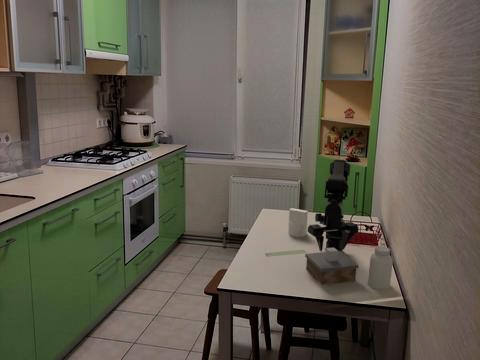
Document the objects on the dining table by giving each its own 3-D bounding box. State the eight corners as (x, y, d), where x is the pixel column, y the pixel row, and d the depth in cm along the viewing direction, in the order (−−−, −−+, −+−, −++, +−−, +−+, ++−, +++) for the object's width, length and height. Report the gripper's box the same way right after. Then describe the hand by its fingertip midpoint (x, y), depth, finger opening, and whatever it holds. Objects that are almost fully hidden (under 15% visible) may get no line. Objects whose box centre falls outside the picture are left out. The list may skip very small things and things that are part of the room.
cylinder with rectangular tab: (309, 232, 231) (310, 209, 229) (301, 238, 224) (303, 214, 221) (293, 229, 236) (294, 206, 233) (285, 234, 229) (286, 210, 226)
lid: (339, 253, 189) (340, 241, 188) (358, 268, 175) (359, 255, 174) (305, 256, 185) (305, 244, 184) (321, 271, 171) (322, 258, 170)
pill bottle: (386, 293, 168) (390, 254, 165) (364, 287, 172) (368, 249, 169) (392, 285, 175) (396, 247, 172) (371, 280, 179) (374, 243, 176)
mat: (303, 250, 208) (303, 249, 208) (321, 266, 191) (321, 265, 191) (265, 253, 203) (265, 252, 203) (279, 270, 186) (279, 269, 186)
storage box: (337, 268, 190) (338, 254, 188) (355, 282, 176) (356, 267, 175) (306, 271, 186) (306, 257, 185) (321, 286, 173) (322, 271, 171)
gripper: (346, 204, 185) (343, 241, 189) (302, 206, 180) (300, 244, 184) (360, 212, 175) (357, 251, 178) (315, 215, 170) (312, 255, 174)
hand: (331, 250), depth 179 cm, fingers open, 9 cm apart
